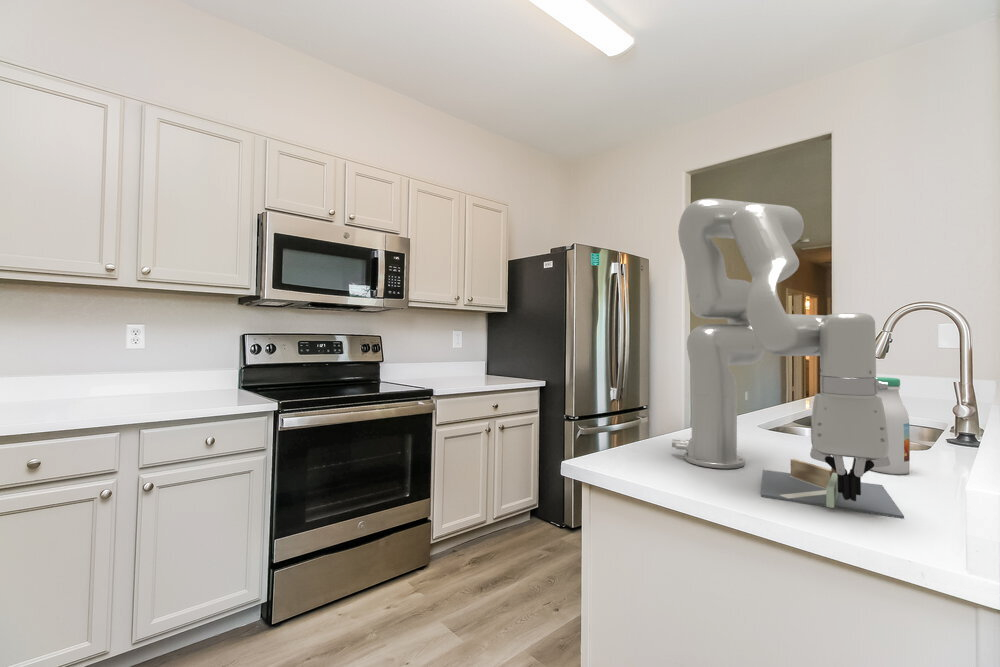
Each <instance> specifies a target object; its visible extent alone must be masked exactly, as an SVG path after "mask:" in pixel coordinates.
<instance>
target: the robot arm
mask: <svg viewBox="0 0 1000 667" xmlns="http://www.w3.org/2000/svg"><path fill="white" fill-rule="evenodd" d="M804 226H805V224H804V219H803V217H802V215H801V213H800V212H799V211H798V210H797V209H796V208H795V207H792V206H788V205H781V204H780V205H779V204H771V203H761V202H749V201H740V200H733V199H732V200H731V199H725V198H724V199H723V198H701V199H697V200H695V201H692V202H691V203H690V204H688V205H687V206H686V208H685V209H684V210H683V212H682V214H681V216H680V220H679V223H678V231H677V232H678V241H679V245H680V246H679V247H680V250H681V253H682V255H683V260H684V265H685V276H686V282H687V283H686V284H687V292H688V302H689V308H690V310H691V313H692V314H693V315H694V316H695V317H696V318H700V319H707V320H727V323H708V324H702V325H698V326H697V327H695V328H693V330H691V332H690V333H689V334H688V336H687V338H686V340H687V341H686V350H687V355H688V359H689V361H688V362H689V365H690V367H689V368H690V375H691V376H690V377H691V382H690V384H691V386H690V387H691V438H690V439H686V440H681V439H672V440H671V447H672V448H674V449H675V450H685V453H684V457H683V458H684V460H685V461H687V462H688V463H690V464H692V465H696V466H699V467H705V468H710V469H711V468H713V469H725V470H727V469H728V470H729V469H730V470H731V469H739V468H743V467H745V463H746V462H745V459H744V457H742V456H740V455H738V454H737V452H738V449H737V448H738V447H737V446H738V387H737V381H736V378H735V376H734V374H733V373H732V370H731V368H730V366H747V365H753V364H755V363H758V362H759V361H760V360H762V358H763V356H764V355H765V351H766V352H767V353H769V354H771V355H774V356H778V357H795V356H796V357H800V356H802V357H819V375H820V377H819V379H820V380H819V381H820V382H819V385H820V386H819V387H820V388H819V389H820V393H815V394H814V396H813V397H814V398H813V401H812V410H811V423H810V424H811V426H810V427H811V428H810V429H811V432H810V433H811V434H810V439H811V448H810V452H809V455H810V456H809V457H810V458H811V459H813V460H815V461H819V462H822V463H826V464H827V465H828V466H830V467H831V468H833V469H834V470H835V471H836V472H837V486H838V492H839V493H842V496H843V498H844V500H848V499H849V500H850V499H851V500H852V501H856V495H861V482H862V481H861V478H862V477H863V476H864V474H866V473H868V471H871V470H870V469H872V468H873V467H886V466H889V465H890V461H889V458H888V450H889V445H888V433H887V424H886V416H885V411H884V406H883V402H882V399H881V397H878V396H876V394H877V392H879V391H882V390H888V383H887V382H882V381H879V380H877V378H875V377H877V353H876V352H877V346H876V344H877V343H876V339H877V338H876V321H875V318H874V317H873V316H872V315H870V314H867V313H859V312H855V313H854V312H852V313H847V312H845V313H832V314H827V315H823V314H822V315H819V314H803V313H802V314H799V313H798V314H797V313H795V314H792V313H790V314H789V313H788V314H787V313H786V311H785V309H784V306H783V305H782V302H781V300H780V298H779V295H778V284H779V283H781V282H783V281H785V280H786V279H788V278H790V277H791V276H792V275H793V274H795V273H796V271H798V268H799V266H800V260H799V258H798V255H797V254H796V251H795V250H794V248H793V246H792V245H793V244H794V245H795V243H796V242H797V241H799V240H800V238H802V237H801V236H802V235H803V233H804V228H805V227H804ZM714 238H719V239H722V238H723V239H733V240H734V241H735V243H736V245H737V247H738V250H739V251H740V253H741V256H742V258H743V261H744V263H745V265H746V267H747V270H748V272H749V274H750V276H751V281H750V282H749V281H747V280H744V279H735V278H729V277H728V275H727V270H726V262H725V258H724V255H723V253H722V251H721V249H720V247H718V246H717V244H716V243H715V241H713V239H714ZM844 457H845V458H852V459H853V460H852V466H851V469H849V472H848V470H847V469H846V466H845V463H844V462H845V461H844Z"/></svg>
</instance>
